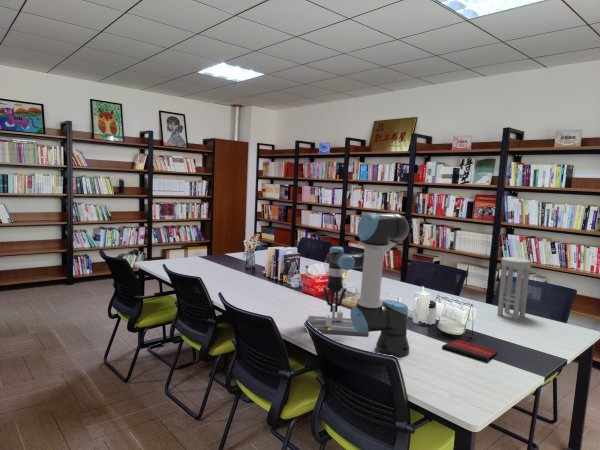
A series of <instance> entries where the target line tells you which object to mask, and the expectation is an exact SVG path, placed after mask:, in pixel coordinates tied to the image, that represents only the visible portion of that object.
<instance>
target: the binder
mask: <svg viewBox="0 0 600 450" xmlns="http://www.w3.org/2000/svg"><path fill="white" fill-rule="evenodd" d="M441 349H442V350H444V351H448V352H451V353H453V354H457V355H460V356H463V357H467V358H469V359H473V360H475V361H476V360H477V361H480V362H483V363H485V364H487V363H488V361H491V360H493V359H494V358H495V357H496V356H497V355H498V351H496V350H494V349H490V348H488V347H485V346H481V345H478V344H476V343H471V342H468V341H465V340H460V339H454V340H451V341H449V342H447V343H445V344H443V345H442V346H441Z"/></svg>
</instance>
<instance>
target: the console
mask: <svg viewBox="0 0 600 450" xmlns="http://www.w3.org/2000/svg"><path fill="white" fill-rule="evenodd" d="M307 322H309V323H310V324H311V325H312V326H313V327H314V328H316V329H317V330H318V331H320V332H322V333H321V334H329V335H330V334H331V335H347V336H359V337H360V336H361V337H369V335H370V334H369V333H370V332H358V331H357V330H356V329H355V328H354V326H353V324H352V321H351V317H350V318H347V317H343V318H342V321H337V317H335V319H332V321H331V327H325V325H326V316H319V315H317V316H316V315H315V316H314V315H308V317H307V321H306V323H307ZM305 333H308V332H307V330H306V329H305Z"/></svg>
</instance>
